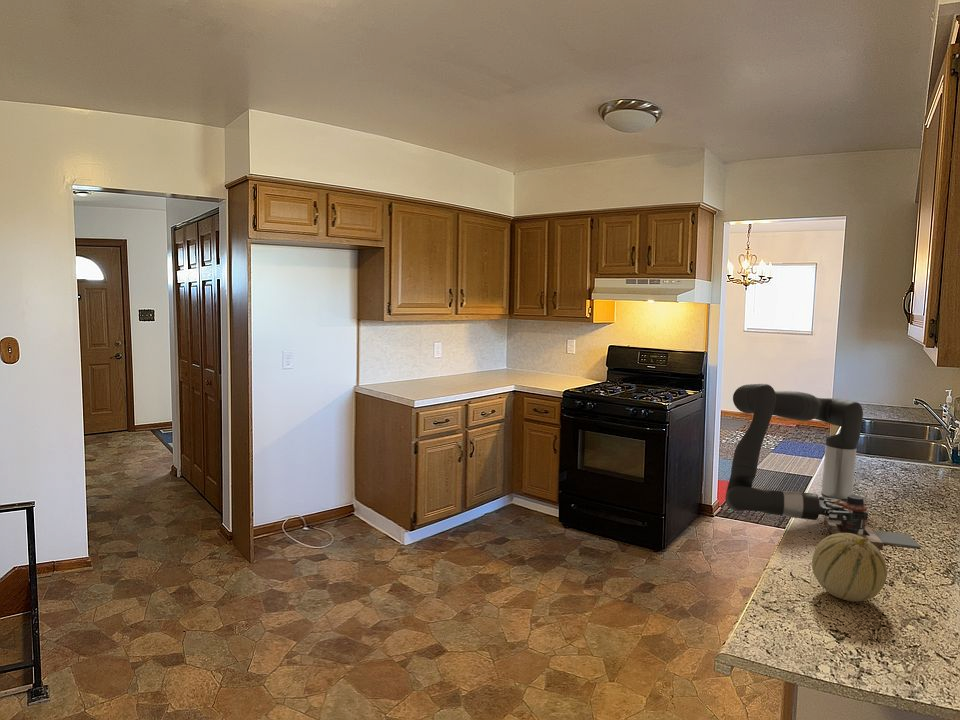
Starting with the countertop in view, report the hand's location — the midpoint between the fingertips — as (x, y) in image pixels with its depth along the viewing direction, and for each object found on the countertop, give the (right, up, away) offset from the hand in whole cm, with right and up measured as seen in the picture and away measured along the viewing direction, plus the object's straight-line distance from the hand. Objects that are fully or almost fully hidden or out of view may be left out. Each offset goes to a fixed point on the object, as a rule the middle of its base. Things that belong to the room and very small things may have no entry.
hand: (863, 512), depth 179 cm
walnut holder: (-3, -7, +1) cm, 7 cm away
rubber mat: (+8, -7, -2) cm, 11 cm away
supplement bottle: (-3, -7, +1) cm, 8 cm away
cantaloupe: (-26, -11, -36) cm, 46 cm away
